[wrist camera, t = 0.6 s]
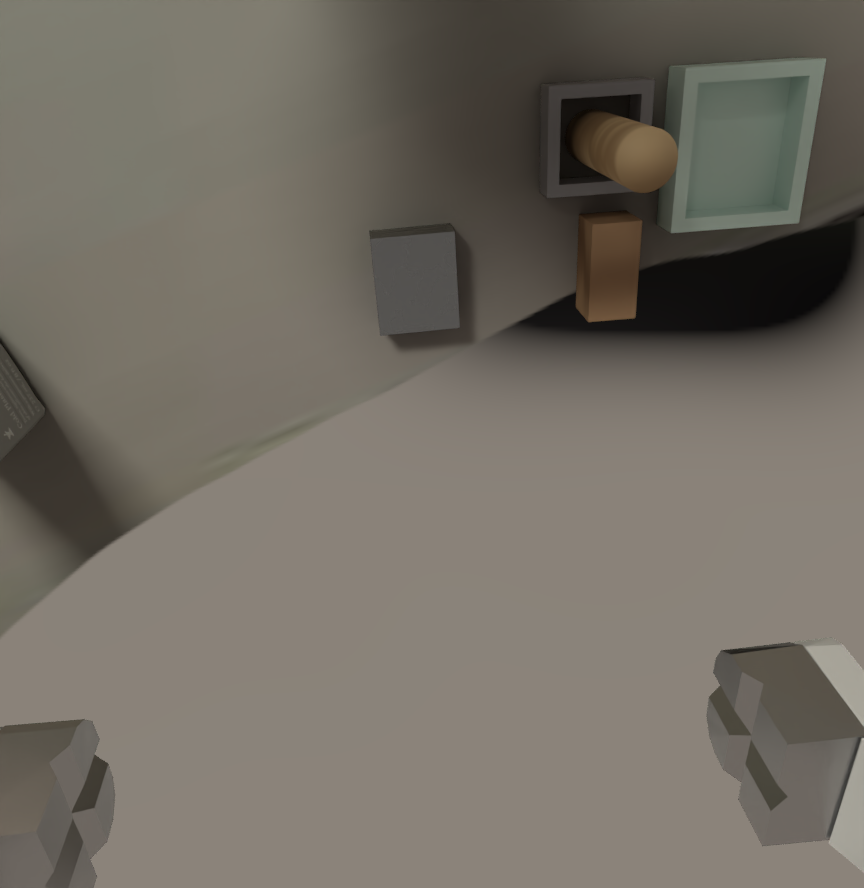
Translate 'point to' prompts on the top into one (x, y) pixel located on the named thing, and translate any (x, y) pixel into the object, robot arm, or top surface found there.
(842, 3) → the top surface
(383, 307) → the steel block
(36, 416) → the skincare box
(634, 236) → the block
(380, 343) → the top surface
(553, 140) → the socket
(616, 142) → the dowel
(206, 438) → the top surface
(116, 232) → the top surface
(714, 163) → the tray
